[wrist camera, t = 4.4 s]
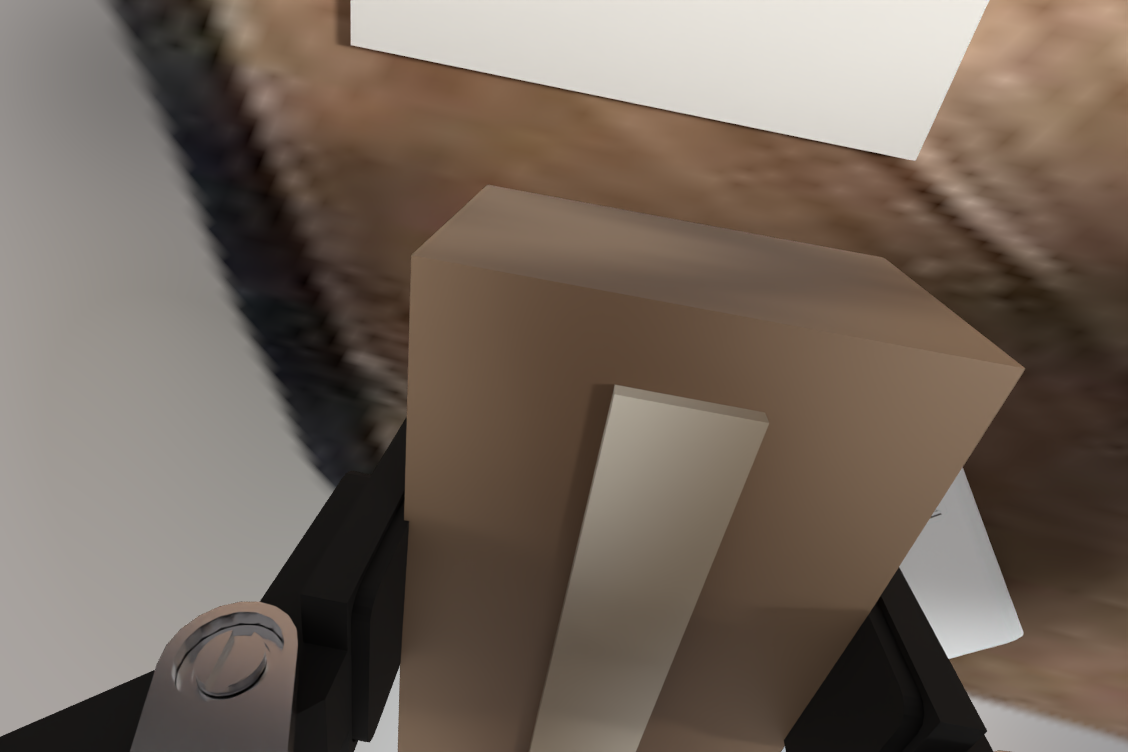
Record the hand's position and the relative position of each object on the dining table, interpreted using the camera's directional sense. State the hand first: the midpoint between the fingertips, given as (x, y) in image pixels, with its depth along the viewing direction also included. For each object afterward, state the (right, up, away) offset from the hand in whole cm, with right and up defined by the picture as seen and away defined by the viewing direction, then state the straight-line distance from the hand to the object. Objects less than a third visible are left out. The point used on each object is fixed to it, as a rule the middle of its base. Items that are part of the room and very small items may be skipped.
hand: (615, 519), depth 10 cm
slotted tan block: (0, +1, +1) cm, 1 cm away
